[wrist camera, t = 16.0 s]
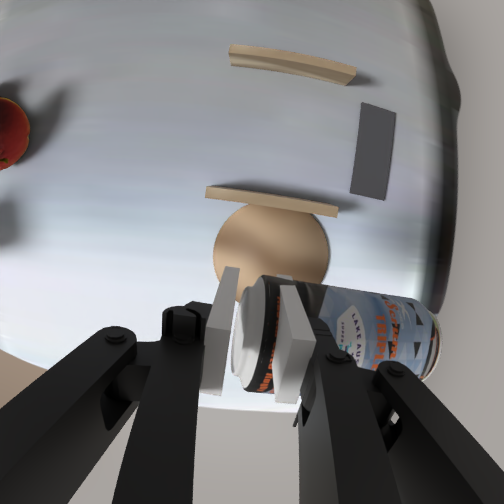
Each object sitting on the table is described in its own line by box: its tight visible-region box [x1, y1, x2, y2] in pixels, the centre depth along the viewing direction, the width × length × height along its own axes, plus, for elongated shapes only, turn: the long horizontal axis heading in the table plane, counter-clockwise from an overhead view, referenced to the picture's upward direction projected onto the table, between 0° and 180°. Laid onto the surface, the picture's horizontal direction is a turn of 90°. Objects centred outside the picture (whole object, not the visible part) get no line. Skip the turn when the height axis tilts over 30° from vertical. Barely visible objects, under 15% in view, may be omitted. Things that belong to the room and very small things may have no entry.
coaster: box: [213, 204, 328, 302], centre depth 30 cm, size 12×12×1 cm
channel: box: [205, 44, 356, 218], centre depth 26 cm, size 15×12×4 cm
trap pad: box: [350, 102, 395, 201], centre depth 27 cm, size 10×4×1 cm, turn 172°
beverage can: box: [231, 275, 442, 396], centre depth 15 cm, size 6×7×12 cm
